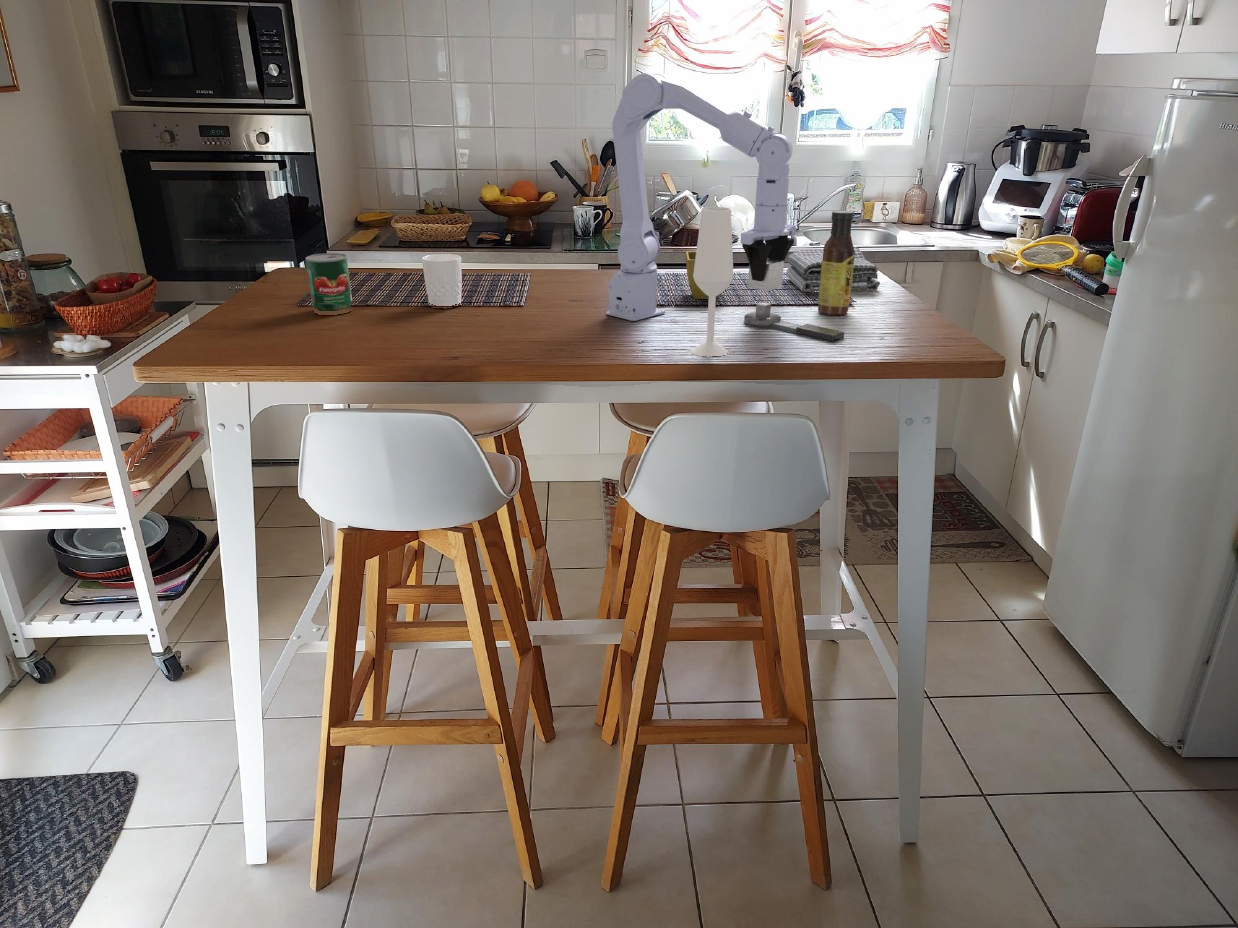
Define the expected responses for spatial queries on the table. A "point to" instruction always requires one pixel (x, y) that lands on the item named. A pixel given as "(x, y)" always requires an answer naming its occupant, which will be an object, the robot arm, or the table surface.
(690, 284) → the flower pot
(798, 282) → the towel
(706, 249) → the champagne flute
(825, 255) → the sauce bottle
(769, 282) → the white sugar cube
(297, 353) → the table surface
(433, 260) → the white cup
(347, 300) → the canned tomato
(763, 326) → the ratchet
